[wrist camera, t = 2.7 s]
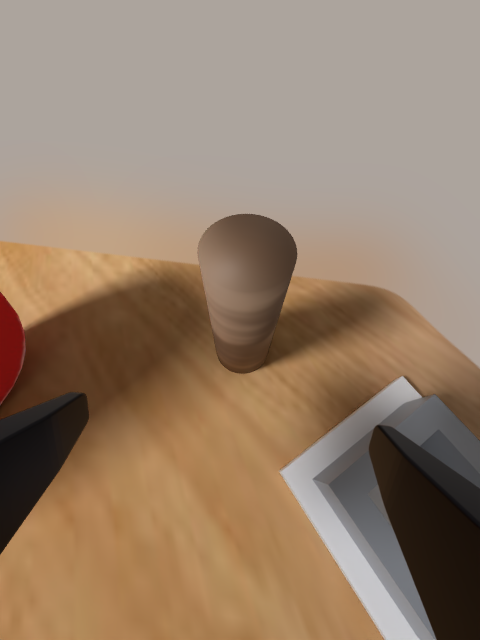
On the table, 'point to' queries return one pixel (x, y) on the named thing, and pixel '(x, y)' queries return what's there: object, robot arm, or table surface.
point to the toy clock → (10, 347)
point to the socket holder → (377, 499)
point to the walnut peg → (245, 285)
